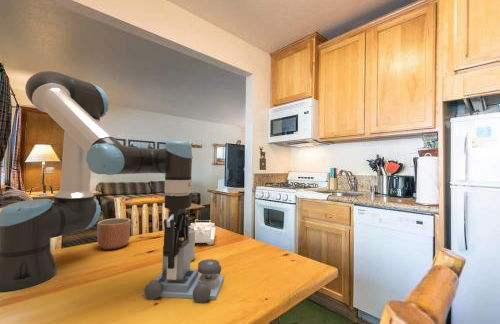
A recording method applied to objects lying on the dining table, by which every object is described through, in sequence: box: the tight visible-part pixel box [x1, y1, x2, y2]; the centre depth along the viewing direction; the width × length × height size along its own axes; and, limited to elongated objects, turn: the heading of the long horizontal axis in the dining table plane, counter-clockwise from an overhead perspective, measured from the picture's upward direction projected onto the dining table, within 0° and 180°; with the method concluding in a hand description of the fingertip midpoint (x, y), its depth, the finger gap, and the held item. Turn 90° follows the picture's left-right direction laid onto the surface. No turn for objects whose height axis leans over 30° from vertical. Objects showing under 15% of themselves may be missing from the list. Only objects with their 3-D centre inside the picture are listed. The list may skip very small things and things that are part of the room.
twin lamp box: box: [161, 237, 191, 280], centre depth 70 cm, size 6×6×11 cm
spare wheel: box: [197, 258, 220, 277], centre depth 69 cm, size 6×6×4 cm
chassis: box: [141, 263, 225, 304], centre depth 69 cm, size 20×15×4 cm
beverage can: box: [189, 225, 196, 262], centre depth 89 cm, size 6×6×12 cm
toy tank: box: [190, 219, 216, 246], centre depth 110 cm, size 12×20×10 cm, turn 6°
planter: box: [96, 217, 132, 251], centre depth 101 cm, size 12×12×11 cm
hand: (176, 273), depth 69 cm, fingers closed on twin lamp box, 6 cm apart
